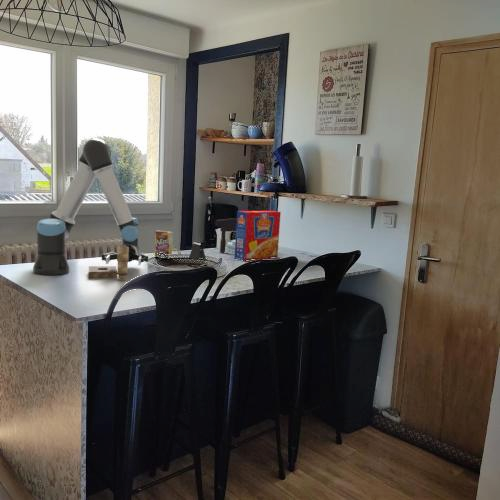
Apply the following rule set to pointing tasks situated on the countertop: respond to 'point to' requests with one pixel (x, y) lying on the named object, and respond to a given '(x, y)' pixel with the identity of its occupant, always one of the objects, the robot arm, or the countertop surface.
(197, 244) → the door stopper
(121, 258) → the leg
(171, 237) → the candy box
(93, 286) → the countertop surface
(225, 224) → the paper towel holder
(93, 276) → the board
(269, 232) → the pasta box
